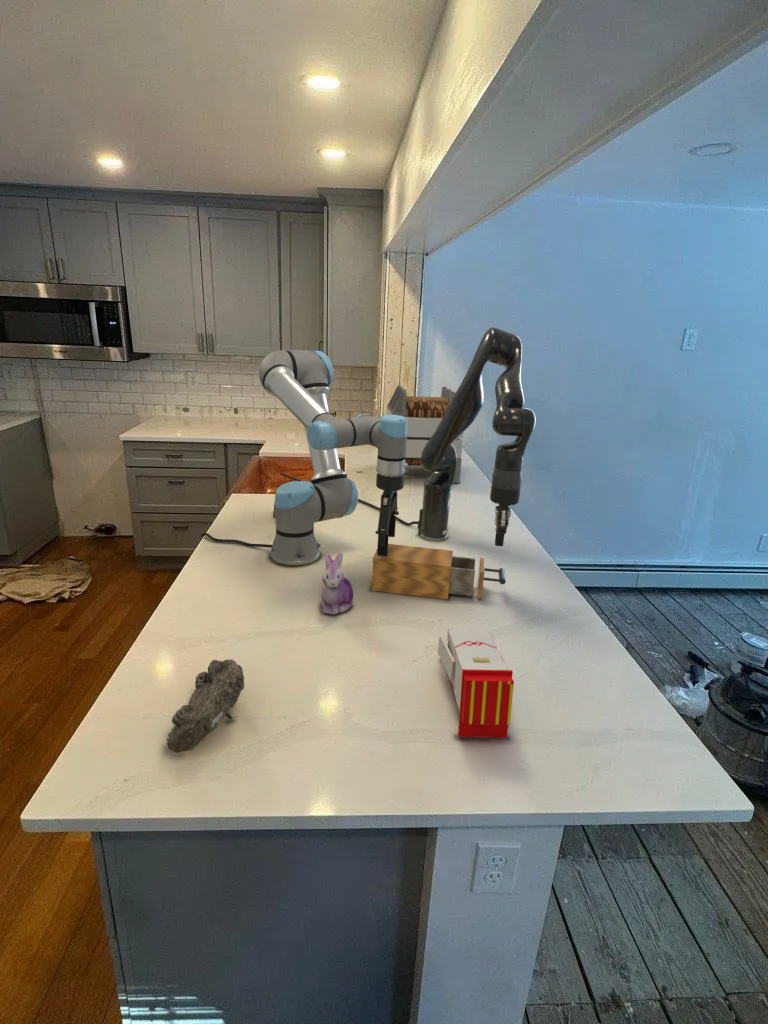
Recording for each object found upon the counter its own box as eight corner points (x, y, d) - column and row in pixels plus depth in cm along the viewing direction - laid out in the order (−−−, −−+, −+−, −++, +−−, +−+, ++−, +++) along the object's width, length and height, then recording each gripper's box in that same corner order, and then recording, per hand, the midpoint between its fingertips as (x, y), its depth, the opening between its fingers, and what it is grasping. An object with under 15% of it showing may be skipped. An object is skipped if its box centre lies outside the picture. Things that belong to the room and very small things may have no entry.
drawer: (502, 585, 163) (505, 560, 161) (503, 602, 154) (506, 574, 152) (411, 575, 167) (413, 550, 164) (407, 590, 158) (409, 564, 155)
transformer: (382, 463, 289) (386, 382, 275) (445, 464, 293) (451, 384, 279) (390, 482, 257) (394, 392, 243) (460, 483, 261) (468, 394, 247)
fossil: (192, 660, 117) (244, 628, 112) (224, 691, 120) (276, 661, 115) (142, 746, 98) (202, 712, 93) (182, 779, 101) (242, 748, 96)
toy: (488, 613, 130) (523, 677, 101) (484, 667, 133) (517, 744, 104) (435, 612, 130) (455, 676, 101) (432, 666, 133) (451, 743, 103)
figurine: (327, 619, 143) (328, 565, 138) (313, 601, 152) (313, 549, 147) (361, 611, 147) (363, 559, 142) (345, 594, 156) (346, 544, 151)
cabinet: (450, 581, 166) (453, 550, 163) (447, 599, 156) (451, 566, 153) (378, 573, 169) (379, 542, 166) (371, 590, 159) (372, 557, 156)
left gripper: (397, 488, 141) (392, 565, 148) (410, 462, 164) (405, 530, 171) (368, 485, 142) (364, 562, 149) (384, 460, 165) (380, 527, 172)
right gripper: (522, 493, 142) (514, 556, 148) (519, 478, 154) (511, 537, 160) (492, 490, 143) (484, 553, 149) (491, 476, 155) (484, 534, 161)
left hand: (386, 545), depth 160 cm, fingers open, 13 cm apart
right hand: (498, 545), depth 154 cm, fingers closed
